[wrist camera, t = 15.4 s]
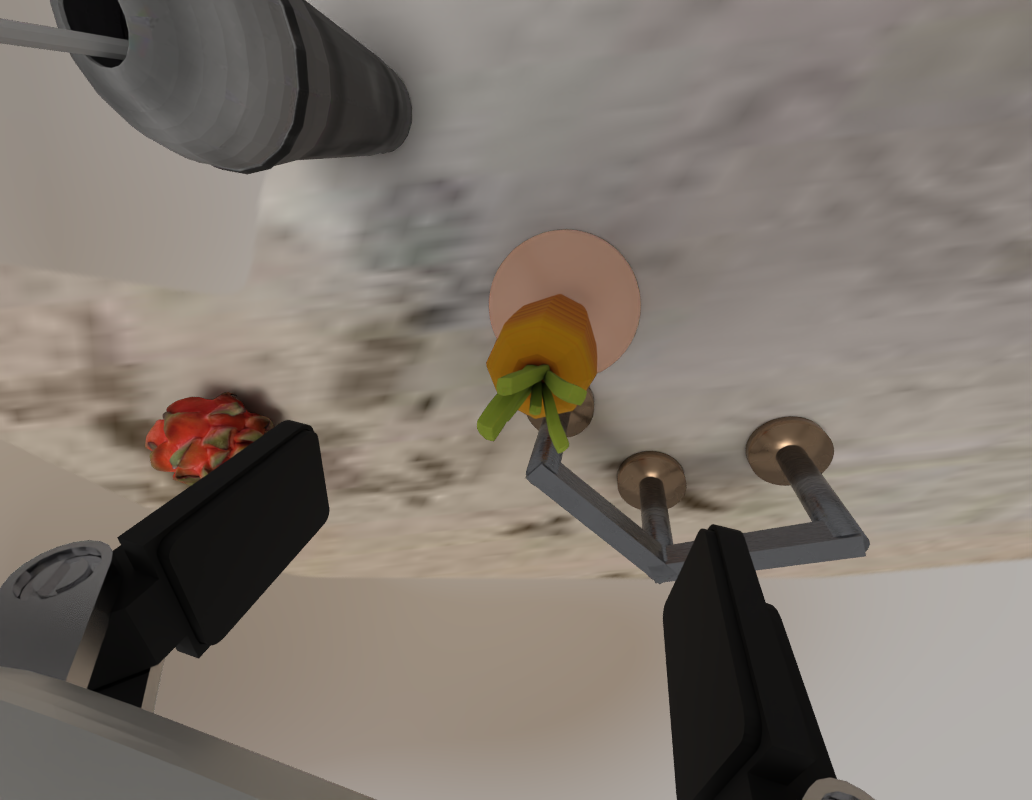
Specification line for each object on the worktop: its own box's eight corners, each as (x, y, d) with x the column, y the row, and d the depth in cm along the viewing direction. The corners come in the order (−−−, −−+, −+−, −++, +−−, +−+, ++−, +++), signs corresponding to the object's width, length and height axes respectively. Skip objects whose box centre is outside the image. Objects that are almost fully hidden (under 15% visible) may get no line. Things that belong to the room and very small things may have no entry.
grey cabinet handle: (841, 425, 27) (934, 524, 19) (778, 533, 32) (832, 647, 24) (532, 365, 30) (502, 430, 22) (516, 473, 35) (487, 558, 27)
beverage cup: (456, 88, 23) (-5, -194, 6) (400, 203, 27) (8, 236, 9) (348, -3, 22) (-558, -645, 5) (305, 128, 26) (-320, 12, 9)
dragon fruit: (316, 414, 39) (236, 417, 44) (231, 369, 32) (147, 378, 37) (281, 505, 35) (197, 496, 40) (177, 476, 28) (91, 470, 33)
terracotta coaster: (659, 242, 25) (659, 243, 24) (620, 389, 29) (620, 393, 29) (498, 218, 26) (495, 219, 25) (485, 363, 31) (483, 366, 30)
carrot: (607, 274, 26) (602, 360, 12) (597, 350, 28) (583, 490, 15) (528, 268, 26) (446, 343, 13) (525, 342, 29) (451, 468, 16)
